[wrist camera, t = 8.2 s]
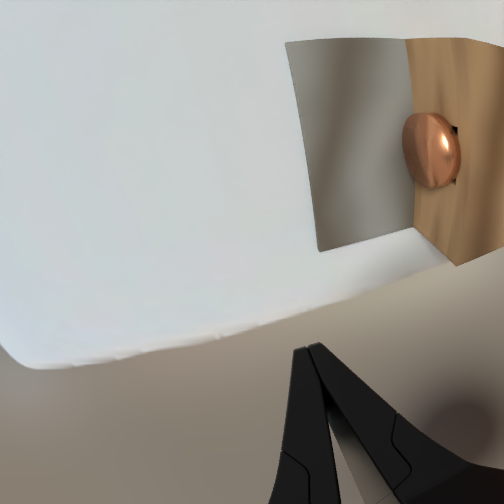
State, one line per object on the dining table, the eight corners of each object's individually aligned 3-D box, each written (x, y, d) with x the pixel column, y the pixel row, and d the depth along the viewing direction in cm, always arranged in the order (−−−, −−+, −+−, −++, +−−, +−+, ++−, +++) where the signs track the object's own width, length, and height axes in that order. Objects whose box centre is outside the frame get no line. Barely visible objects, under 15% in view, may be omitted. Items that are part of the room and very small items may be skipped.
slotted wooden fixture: (490, 52, 14) (546, 62, 9) (488, 201, 22) (531, 233, 17) (284, 43, 14) (322, 27, 9) (317, 249, 22) (350, 304, 16)
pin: (492, 106, 16) (535, 120, 12) (491, 158, 19) (530, 178, 15) (399, 107, 16) (446, 121, 12) (403, 173, 18) (444, 200, 15)
